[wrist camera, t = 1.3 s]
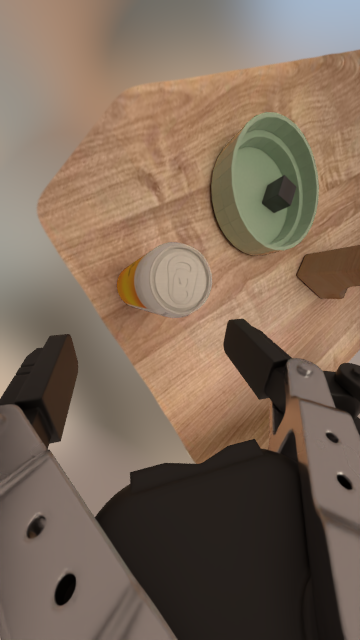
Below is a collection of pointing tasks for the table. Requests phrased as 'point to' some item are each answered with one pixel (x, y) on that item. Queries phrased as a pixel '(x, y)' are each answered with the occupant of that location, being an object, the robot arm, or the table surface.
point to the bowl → (264, 185)
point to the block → (279, 194)
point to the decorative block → (331, 271)
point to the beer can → (167, 281)
